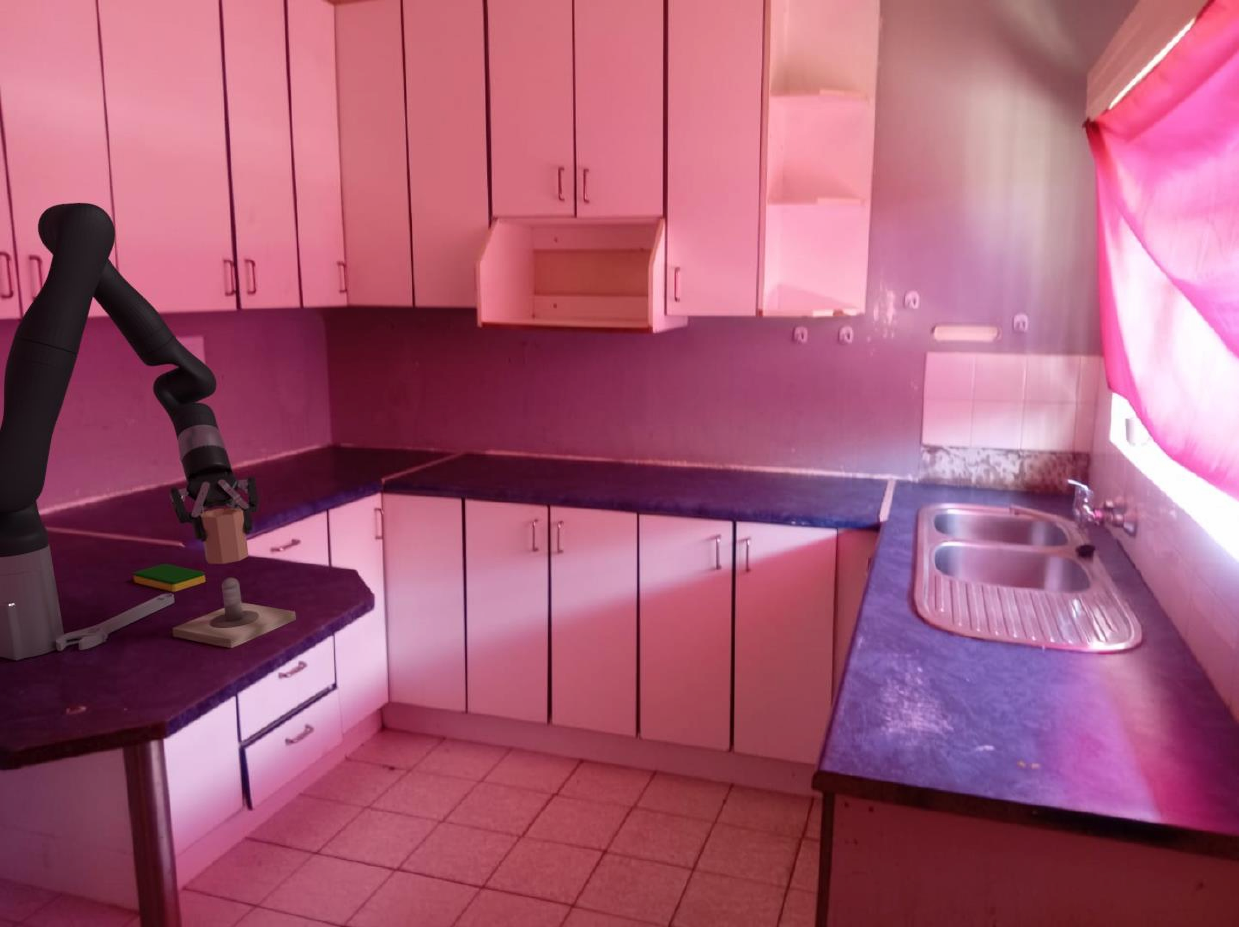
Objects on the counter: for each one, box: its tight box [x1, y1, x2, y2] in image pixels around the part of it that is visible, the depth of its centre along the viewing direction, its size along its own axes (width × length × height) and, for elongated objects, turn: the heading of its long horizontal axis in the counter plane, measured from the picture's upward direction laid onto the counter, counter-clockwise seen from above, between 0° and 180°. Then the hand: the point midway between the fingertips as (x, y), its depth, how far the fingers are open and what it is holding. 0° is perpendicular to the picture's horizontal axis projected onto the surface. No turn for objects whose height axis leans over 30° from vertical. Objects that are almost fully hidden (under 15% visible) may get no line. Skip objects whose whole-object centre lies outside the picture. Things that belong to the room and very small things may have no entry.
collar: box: [200, 507, 250, 565], centre depth 163 cm, size 6×6×8 cm
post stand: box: [172, 577, 297, 649], centre depth 165 cm, size 14×14×9 cm
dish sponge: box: [132, 563, 206, 593], centre depth 194 cm, size 7×14×2 cm, turn 57°
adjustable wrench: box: [56, 593, 175, 652], centre depth 169 cm, size 25×6×2 cm, turn 161°
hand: (226, 535), depth 161 cm, fingers closed on collar, 6 cm apart
